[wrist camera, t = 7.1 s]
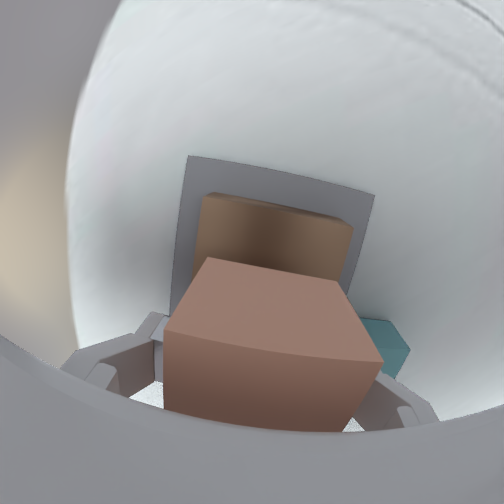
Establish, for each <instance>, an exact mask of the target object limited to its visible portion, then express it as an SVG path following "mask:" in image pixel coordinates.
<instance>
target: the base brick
mask: <svg viewBox="0 0 504 504" xmlns="http://www.w3.org/2000/svg"><path fill="white" fill-rule="evenodd" d="M353 230H354V227H352V226H351V225H349V224H348V223H346V222H345V221H343V220H342V219H340V218H338V217H333V216H329V215H325V214H321V213H316V212H312V211H308V210H303V209H299V208H294V207H289V206H285V205H280V204H275V203H270V202H265V201H260V200H255V199H250V198H245V197H240V196H234V195H229V194H223V193H218V192H212V193H210V194H208V195H205V196H203V200H202V206H201V213H200V219H199V226H198V233H197V240H196V247H195V255H194V263H193V271H192V279H191V283H192V281H193V279H194V278H195V276H196V275H197V273H198V271H199V270H200V268H201V267H202V265H203V263H204V262H205V260H206V259H207V257H211V258H216V259H221V260H226V261H232V262H237V263H242V264H247V265H252V266H257V267H263V268H268V269H273V270H279V271H284V272H289V273H295V274H300V275H305V276H311V277H316V278H322V279H327V280H333V281H337V282H339V279H340V275H341V272H342V269H343V266H344V262H345V259H346V255H347V252H348V248H349V245H350V241H351V238H352V234H353Z"/></svg>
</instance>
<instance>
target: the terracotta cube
mask: <svg viewBox="0 0 504 504" xmlns="http://www.w3.org/2000/svg"><path fill="white" fill-rule="evenodd" d="M383 364H384V361H383V359H382V357H381V355H380V353H379V352H378V350H377V348H376V346H375V345H374V343H373V341H372V339H371V338H370V336H369V334H368V332H367V331H366V329H365V327H364V325H363V324H362V322H361V320H360V319H359V317H358V315H357V314H356V312H355V310H354V308H353V307H352V305H351V304H350V302H349V300H348V299H347V297H346V295H345V294H344V292H343V290H342V289H341V287H340V286H339V284H338V282H337V281H333V280H327V279H322V278H316V277H311V276H305V275H300V274H295V273H289V272H284V271H279V270H273V269H268V268H263V267H257V266H252V265H247V264H242V263H237V262H232V261H226V260H221V259H216V258H211V257H207V259H206V260H205V262H204V263H203V265H202V267H201V268H200V270H199V271H198V273H197V275H196V276H195V278H194V279H193V281H192V283H191V284H190V286H189V288H188V289H187V291H186V293H185V294H184V296H183V297H182V299H181V301H180V302H179V304H178V306H177V307H176V309H175V311H174V312H173V314H172V316H171V317H170V319H169V321H168V322H167V324H166V326H165V328H164V332H163V400H164V409H166V410H169V411H173V412H177V413H181V414H185V415H189V416H193V417H198V418H202V419H207V420H212V421H217V422H223V423H229V424H235V425H242V426H249V427H256V428H265V429H275V430H287V431H305V432H342V431H343V429H344V428H345V427H346V425H347V424H348V422H349V421H350V419H351V418H352V416H353V415H354V413H355V412H356V410H357V408H358V407H359V405H360V404H361V402H362V400H363V399H364V397H365V395H366V394H367V392H368V390H369V389H370V387H371V385H372V384H373V382H374V380H375V378H376V377H377V375H378V373H379V371H380V369H381V367H382V366H383Z"/></svg>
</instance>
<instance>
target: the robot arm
mask: <svg viewBox="0 0 504 504" xmlns="http://www.w3.org/2000/svg"><path fill="white" fill-rule="evenodd" d="M170 317H171V316H167V315H164V314H160V313H156V312H151V313H150V314H149V315H148V316H147V318H146V319H145V320H144V322H143V323H142V324H141V326H140V327H139V329H138V330H137V331H136V333H135V334H132V333H130V334H127V335H124V336H121V337H117V338H114V339H111V340H108V341H105V342H102V343H99V344H95V345H92V346H89V347H86V348H83V349H79V350H76V351H75V352H74V353H73V354H72V355H71V356H70V358H69V359H68V360H67V361H66V362H65V363H64V364H63V365H62V367H61V368H60V369H58V368H56V367H54V366H52V365H50V364H49V363H47V362H45V361H43V360H41V359H39V358H37V357H36V356H34V355H32V354H30V353H29V352H27V351H25V350H24V349H22V348H20V347H19V346H17V345H16V344H14V343H12V342H11V341H9V340H8V339H6V338H4V337H3V336H2V335H0V504H504V404H503V405H500V406H497V407H494V408H491V409H488V410H484V411H481V412H478V413H474V414H470V415H467V416H463V417H459V418H454V419H450V420H445V421H441V422H440V421H439V419H438V417H437V415H436V414H435V412H434V410H433V408H432V407H431V405H430V403H429V402H427V401H426V400H424V399H423V398H421V397H420V396H418V395H417V394H415V393H414V392H412V391H411V390H409V389H408V388H406V387H405V386H403V385H402V384H400V383H399V382H397V381H396V380H395V379H393V378H392V377H390V376H389V375H387V374H383V373H382V371H381V369H380V371H379V373H378V375H377V377H376V378H375V380H374V382H373V384H372V385H371V387H370V389H369V390H368V392H367V394H366V395H365V397H364V399H363V400H362V402H361V404H360V405H359V407H358V408H357V410H356V412H355V413H354V415H353V416H352V417H353V418H354V419H355V420H356V421H357V422H358V423H359V425H360V426H361V427H362V428H363V429H364V430H365V431H360V432H305V431H287V430H275V429H265V428H256V427H249V426H242V425H235V424H229V423H223V422H217V421H212V420H207V419H202V418H198V417H193V416H189V415H185V414H181V413H177V412H173V411H169V410H166V409H162V408H158V407H155V406H152V405H148V404H145V403H142V402H139V401H136V400H133V399H130V398H129V397H130V396H132V395H134V394H135V393H137V392H139V391H140V390H142V389H143V388H145V387H147V386H148V385H150V384H151V383H153V382H154V381H158V382H162V383H163V332H164V328H165V326H166V324H167V322H168V321H169V319H170Z"/></svg>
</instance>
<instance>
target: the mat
mask: <svg viewBox="0 0 504 504" xmlns="http://www.w3.org/2000/svg"><path fill="white" fill-rule="evenodd" d="M212 192H218V193H223V194H229V195H234V196H240V197H245V198H250V199H255V200H260V201H265V202H270V203H275V204H280V205H285V206H289V207H294V208H299V209H303V210H308V211H312V212H316V213H321V214H325V215H329V216H333V217H338V218H340V219H342V220H343V221H345V222H346V223H348V224H349V225H351V226H352V227H354V230H353V234H352V238H351V241H350V245H349V248H348V252H347V255H346V259H345V262H344V266H343V269H342V272H341V275H340V279H339V282H338V284H339V286H340V287H341V289H342V290H343V292H344V294H345V295H346V294H347V291H348V288H349V285H350V282H351V279H352V276H353V273H354V270H355V267H356V264H357V260H358V257H359V254H360V250H361V247H362V243H363V240H364V236H365V232H366V229H367V225H368V221H369V217H370V213H371V209H372V205H373V201H374V197H375V195H372V194H369V193H365V192H362V191H358V190H355V189H351V188H348V187H344V186H340V185H336V184H332V183H329V182H325V181H321V180H317V179H312V178H308V177H304V176H300V175H295V174H291V173H286V172H281V171H277V170H272V169H267V168H262V167H257V166H251V165H246V164H240V163H234V162H229V161H222V160H216V159H210V158H203V157H196V156H188V160H187V165H186V171H185V177H184V184H183V190H182V197H181V204H180V211H179V218H178V226H177V235H176V243H175V253H174V263H173V273H172V285H171V299H170V314H169V316H172V314H173V312H174V311H175V309H176V307H177V306H178V304H179V302H180V301H181V299H182V297H183V296H184V294H185V293H186V291H187V289H188V288H189V286H190V284H191V279H192V271H193V263H194V255H195V247H196V240H197V233H198V226H199V219H200V213H201V206H202V200H203V196H205V195H208V194H210V193H212Z"/></svg>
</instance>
